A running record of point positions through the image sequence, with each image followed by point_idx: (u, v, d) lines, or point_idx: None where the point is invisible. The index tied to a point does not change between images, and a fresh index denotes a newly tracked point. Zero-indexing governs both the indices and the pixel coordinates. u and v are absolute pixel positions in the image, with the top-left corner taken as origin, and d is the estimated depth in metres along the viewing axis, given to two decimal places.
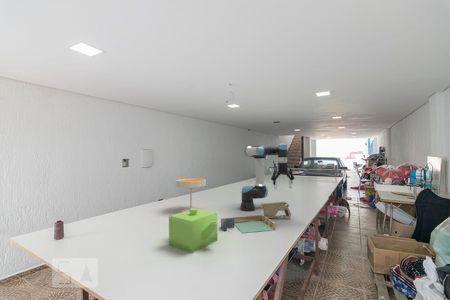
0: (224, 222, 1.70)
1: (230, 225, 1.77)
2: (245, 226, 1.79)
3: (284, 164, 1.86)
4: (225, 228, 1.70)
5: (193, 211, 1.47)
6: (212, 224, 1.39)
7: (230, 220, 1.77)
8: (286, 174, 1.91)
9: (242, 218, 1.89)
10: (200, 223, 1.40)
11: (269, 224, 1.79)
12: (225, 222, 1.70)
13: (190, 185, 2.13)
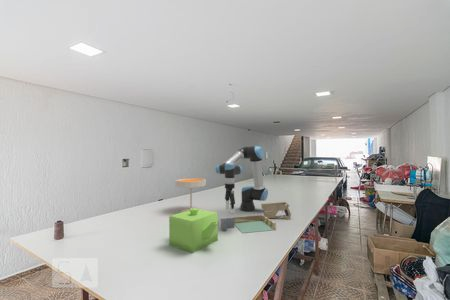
0: (224, 222, 1.70)
1: (230, 226, 1.77)
2: (245, 226, 1.79)
3: (225, 185, 1.78)
4: (225, 228, 1.70)
5: (193, 211, 1.47)
6: (212, 224, 1.38)
7: (230, 220, 1.77)
8: None
9: (242, 218, 1.89)
10: (201, 224, 1.40)
11: (269, 224, 1.79)
12: (225, 222, 1.70)
13: (190, 185, 2.13)
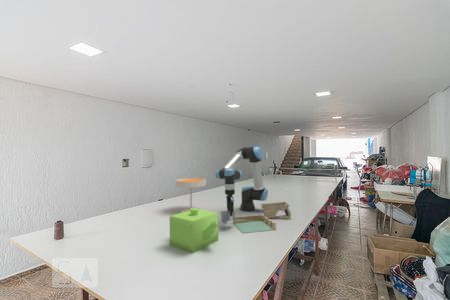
0: (224, 215, 1.71)
1: None
2: (245, 226, 1.79)
3: (225, 191, 1.78)
4: (225, 221, 1.71)
5: (194, 211, 1.46)
6: (213, 224, 1.38)
7: None
8: None
9: (242, 218, 1.89)
10: (201, 224, 1.40)
11: (269, 224, 1.79)
12: (225, 215, 1.71)
13: (190, 185, 2.13)
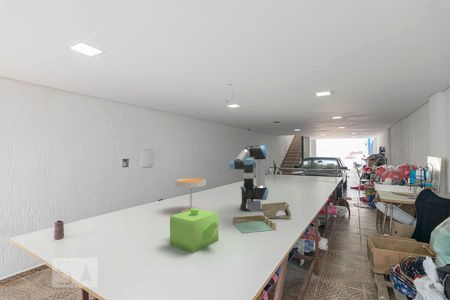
0: None
1: None
2: (245, 226, 1.79)
3: (249, 180, 1.78)
4: None
5: (194, 211, 1.46)
6: (213, 224, 1.38)
7: None
8: (250, 191, 1.82)
9: (242, 218, 1.89)
10: (201, 224, 1.39)
11: (269, 224, 1.79)
12: None
13: (190, 185, 2.13)
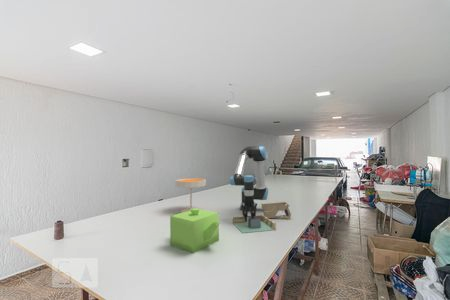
0: None
1: None
2: (245, 226, 1.79)
3: (250, 197, 1.78)
4: None
5: (194, 211, 1.46)
6: (214, 224, 1.38)
7: None
8: (250, 208, 1.82)
9: (242, 218, 1.89)
10: (202, 224, 1.39)
11: (269, 224, 1.79)
12: None
13: (190, 185, 2.13)
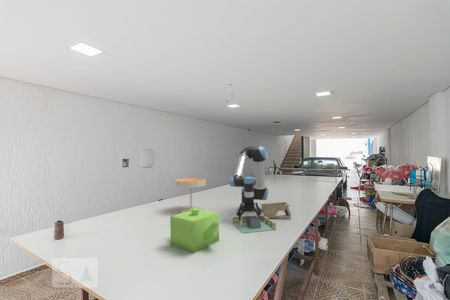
0: None
1: None
2: (245, 226, 1.79)
3: (250, 199, 1.78)
4: None
5: (195, 211, 1.46)
6: (214, 224, 1.38)
7: None
8: (253, 209, 1.82)
9: (242, 218, 1.89)
10: (202, 224, 1.39)
11: (269, 224, 1.79)
12: None
13: (190, 185, 2.13)
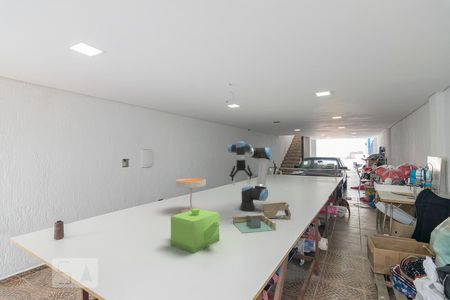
0: None
1: None
2: (245, 226, 1.79)
3: (242, 161, 1.93)
4: None
5: (195, 211, 1.46)
6: (214, 224, 1.38)
7: None
8: None
9: (242, 218, 1.89)
10: (202, 224, 1.39)
11: (269, 224, 1.79)
12: None
13: (190, 185, 2.13)
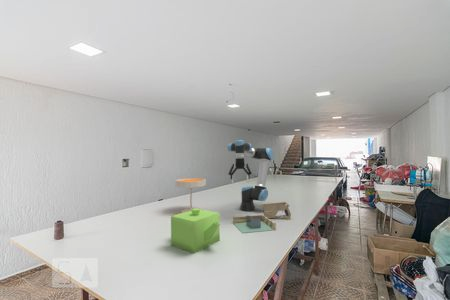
0: None
1: None
2: (245, 226, 1.79)
3: (240, 159, 1.95)
4: None
5: (195, 211, 1.46)
6: (214, 224, 1.38)
7: None
8: (243, 169, 2.00)
9: (242, 218, 1.89)
10: (202, 224, 1.39)
11: (269, 224, 1.79)
12: None
13: (190, 185, 2.13)
